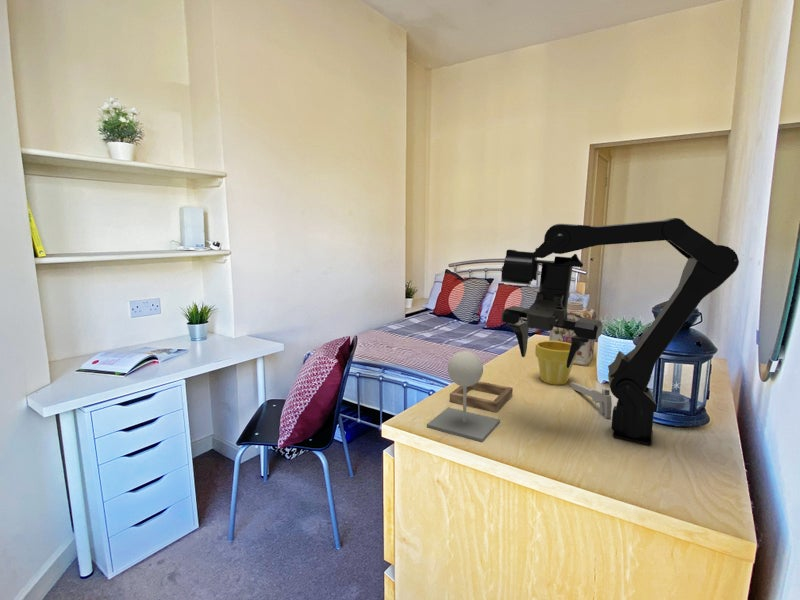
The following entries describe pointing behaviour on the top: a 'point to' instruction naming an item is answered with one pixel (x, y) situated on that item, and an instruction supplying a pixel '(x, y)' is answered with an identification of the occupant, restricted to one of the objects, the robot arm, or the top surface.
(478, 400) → the brown wooden square frame
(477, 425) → the mat
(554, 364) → the plant pot
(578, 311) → the decorative jar
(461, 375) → the lollipop
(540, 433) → the top surface
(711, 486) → the top surface
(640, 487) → the top surface
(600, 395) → the caliper
